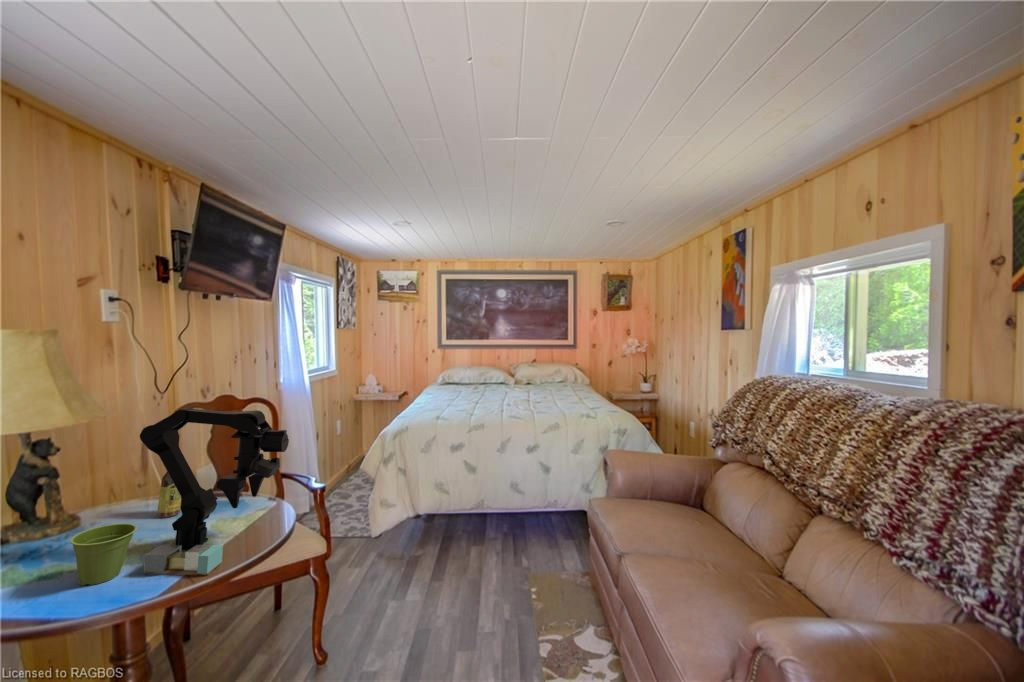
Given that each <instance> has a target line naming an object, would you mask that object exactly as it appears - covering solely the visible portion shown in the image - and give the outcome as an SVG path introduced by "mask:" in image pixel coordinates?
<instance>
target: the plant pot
mask: <svg viewBox="0 0 1024 682" xmlns="http://www.w3.org/2000/svg"><path fill="white" fill-rule="evenodd" d="M137 530H138V526H137V525H136V524H134V523H127V522H126V523H124V522H123V523H121V522H120V523H111V524H106V525H101V526H96V527H93V528H89V529H87V530H83V531H81V532H79V533H77V534H76V535H74V536H72V537H71V538H70V539H69V542H70V544H71V545H72V546H73V547H72V548H73V552H74V553H75V559H76V560H75V561H76V568H77V569H76V570H77V577H78V578H77V579H78V584H80V585H81V586H85V585H90V586H91V585H98V584H101V583H105V582H107V581H110V580H112V579H114V578H115V577H116V576H118V575H120V574H121V570H122V567H123V564H124V562H125V560H126V559H125V558H126V555H127V552H128V549H129V545H130V542H131V541H132V539H133V536H134V533H135V532H136V531H137Z"/></svg>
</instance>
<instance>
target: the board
mask: <svg viewBox="0 0 1024 682" xmlns="http://www.w3.org/2000/svg"><path fill="white" fill-rule="evenodd" d="M220 564H221V565H222V562H221V563H220ZM220 564H219V565H220ZM219 565H217V566H219ZM221 565H220V566H221ZM217 566H216V567H217ZM220 566H219V567H220ZM216 567H215V568H216ZM215 568H213V569H215ZM217 568H218V567H217ZM217 568H216V569H217ZM213 569H212V570H213ZM216 569H215V570H216ZM212 570H211V571H212ZM211 571H210V572H211ZM210 572H208V573H210ZM212 572H213V571H212ZM212 572H211V573H212ZM208 573H207V574H208ZM211 573H210V574H211ZM143 574H144V575H163V576H164V575H167V576H169V575H174V576H175V575H176V576H196V575H195V574H199V573H197V571H187V570H181V569H166V571H165V572H164V573H156V572H144V571H143ZM178 574H179V575H178ZM193 574H194V575H193Z"/></svg>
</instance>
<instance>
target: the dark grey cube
mask: <svg viewBox="0 0 1024 682" xmlns="http://www.w3.org/2000/svg"><path fill="white" fill-rule="evenodd" d="M181 548H182V545H175V544H161V545H160V546H158V547H155V548H154V549H153V550H151V551H149V552H148V553H146V554H145V555H144V562H143V564H144V565H143V573H144V572H156V573H164V572H165V571H166V564H167V556H169V555H171V554H172V553H174V552H182V550H181Z"/></svg>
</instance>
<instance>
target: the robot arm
mask: <svg viewBox="0 0 1024 682" xmlns="http://www.w3.org/2000/svg"><path fill="white" fill-rule="evenodd" d="M188 423H193V424H204V425H213V426H214V425H215V426H225V427H228V428H231V429H233V430H236V432H234V434H232V435H231V436H230V437H231V438H232V439H238V447H237V448H238V449H237V455H236V456H233V458H234V459H233V460H234V461H237V463H236V469H233V470H232V474H227V475H225V476H222V477H221V478H219V479H217V481H216V486H215V487H216V489H217V490H219V491H222V493H223V494H224V495H225V497H226V498H227V500H228V502H229V503H230V505H231V507H232V509H237V508H238V507H239V502H240V497H241V492H242V491H243V490H244V488H246V487H247V486H246V483H247V479H248V483H249V488H250V493H251V496H252V497H253V498H255V497H257V496H258V494H259V491H260V488H261V486H262V484H263V482H264V479H270V478H271V477H273V476H274V475H276V473H277V471H278V469H280V468H281V462H280V461H281V459H280V457H277V456H275V457H273V458H271V459H270V458H268V459H266V458H264V457H265V456H264V453H285V452H286V450H287V449H288V447H289V442H290V438H289V435H288V434H287V432H288V431H287V430H286V429H281V430H275V429H274V430H273V428H272V427H271V426H270V424H269V423H268V420H266V416H265V414H264V413H263V411H261V410H255V409H254V410H243V411H242V410H241V411H221V410H211V409H201V408H200V409H199V408H193V407H185V408H181V409H177V410H176V411H174V412H172V414H170V415H169V416H166V417H165V418H163V419H161V420H159V421H157V422H156V423H154V424H150V425H147V426H145V427H143V429H142V430H141V431H140V433H139V439H140V441H141V442H142V444H143V445H144V446H145V448H147V449H148V450H149V451H151V452H153V453H154V454H156V455H158V457H159V458H160V460H161V462H162V464H163V467H164V468H165V470H166V472H168V474H169V475H170V477H171V479H172V481H173V483H174V485H175V486H176V488H177V490H178V492H179V494H180V496H181V506H180V509H181V511H180V512H181V516H179V517H178V518H177V519H176V520H175V521H173V522H172V523H171V526H172V528H173V531H176V533H175V543H174V545H182V548H181V551H182V550H184V551H186V550H187V551H188V550H190V549H191V548H193V547H194V546H196V545H204V543H205V542H207V541H208V540H209V537H207V535H208V534H207V531H208V527H207V526H206V525H207V521H205V520H206V519H209V517H210V516H211V514H212V513H213V512H215V510H216V509H217V506H218V502H217V500H218V499H219V498H218V497H217V496H216V495H215V493H214V490H213V489H212V488H209V489H207V490H206V489H204V488H203V487H202V486H201V485H200V483H199V481H198V480H197V478H196V476H195V474H194V472H193V470H192V468H191V467H190V465H189V463H188V461H187V460H186V458H185V457H186V456H185V455H184V454H183V452H182V450H181V447H180V446H179V445H180V434H179V431H180V430H181V429H183V428H184V427H185V426H186V425H187V424H188ZM261 451H263V452H264V453H263V452H261Z"/></svg>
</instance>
